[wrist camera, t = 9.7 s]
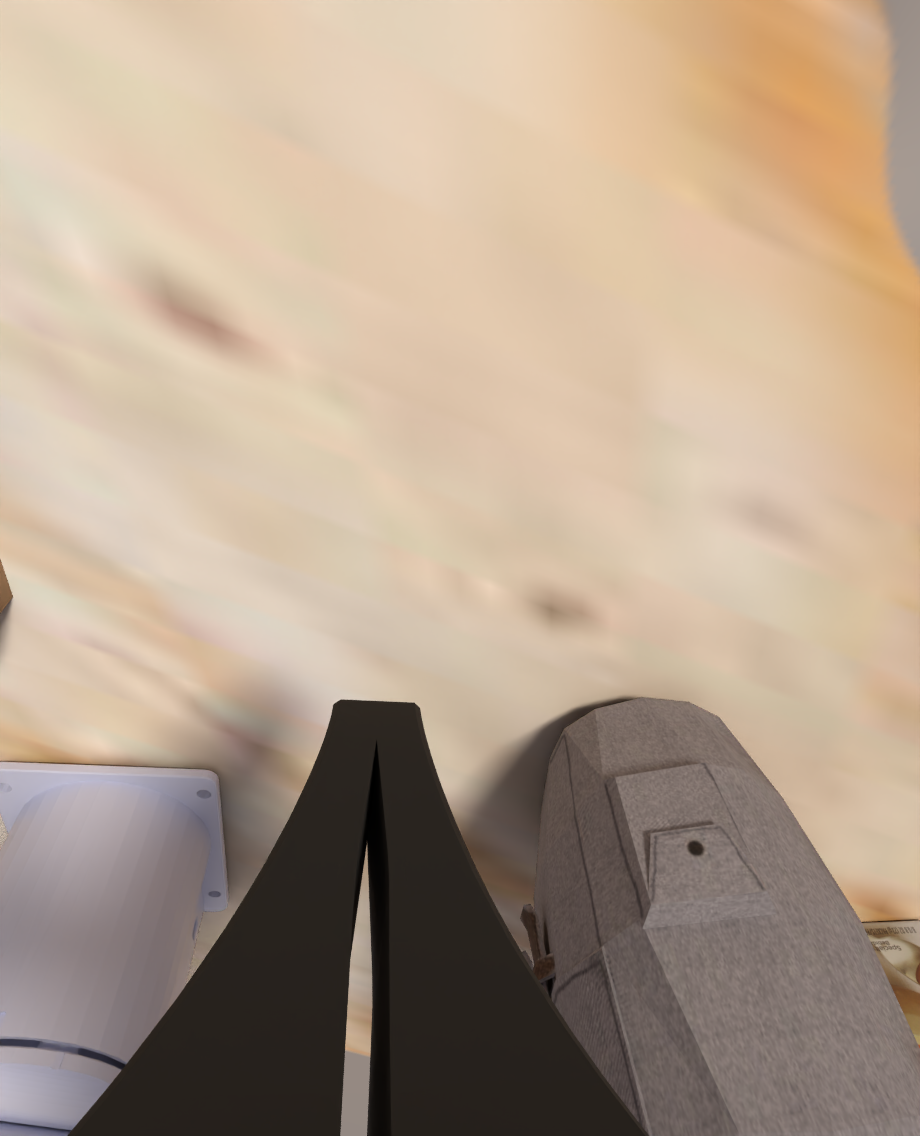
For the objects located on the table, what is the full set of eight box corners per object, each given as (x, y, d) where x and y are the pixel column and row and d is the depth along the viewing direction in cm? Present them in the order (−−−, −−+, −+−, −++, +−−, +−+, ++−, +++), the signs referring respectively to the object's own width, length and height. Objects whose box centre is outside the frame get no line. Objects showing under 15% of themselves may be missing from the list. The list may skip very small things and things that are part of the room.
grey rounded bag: (673, 872, 32) (944, 1670, 16) (498, 886, 32) (595, 1714, 16) (738, 632, 24) (1481, 1857, 7) (498, 649, 23) (716, 1964, 7)
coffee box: (926, 914, 36) (1217, 1377, 23) (882, 970, 40) (1112, 1397, 27) (760, 925, 36) (963, 1405, 23) (731, 981, 40) (892, 1421, 27)
